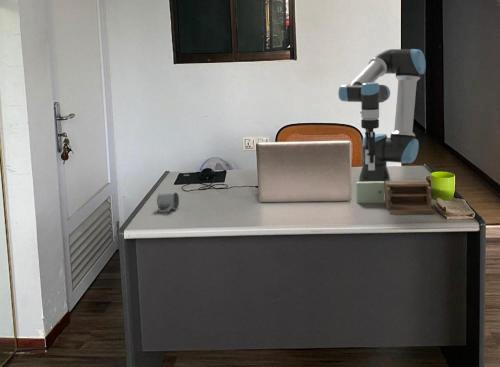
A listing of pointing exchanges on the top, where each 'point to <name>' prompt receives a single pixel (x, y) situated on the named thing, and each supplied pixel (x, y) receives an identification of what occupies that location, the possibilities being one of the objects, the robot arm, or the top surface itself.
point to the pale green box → (370, 192)
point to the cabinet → (408, 197)
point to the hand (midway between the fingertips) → (369, 167)
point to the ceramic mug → (167, 201)
